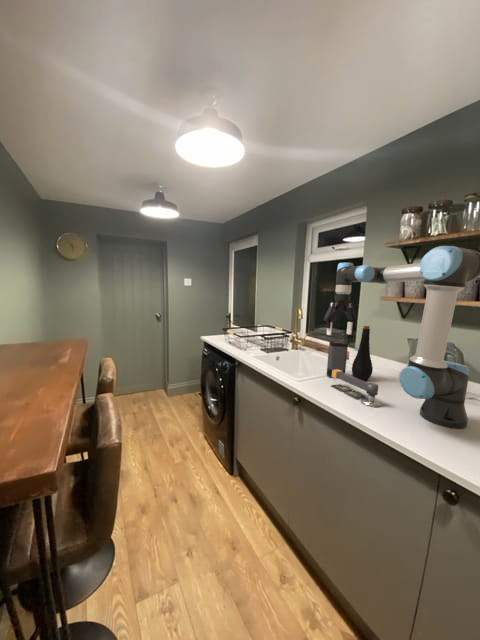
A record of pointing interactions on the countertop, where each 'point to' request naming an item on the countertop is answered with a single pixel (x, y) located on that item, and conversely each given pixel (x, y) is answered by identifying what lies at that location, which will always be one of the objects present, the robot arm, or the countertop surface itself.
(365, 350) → the bottle
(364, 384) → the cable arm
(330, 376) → the electronic device
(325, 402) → the countertop surface
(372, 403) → the pivot post
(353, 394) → the power supply label
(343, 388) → the psu label
